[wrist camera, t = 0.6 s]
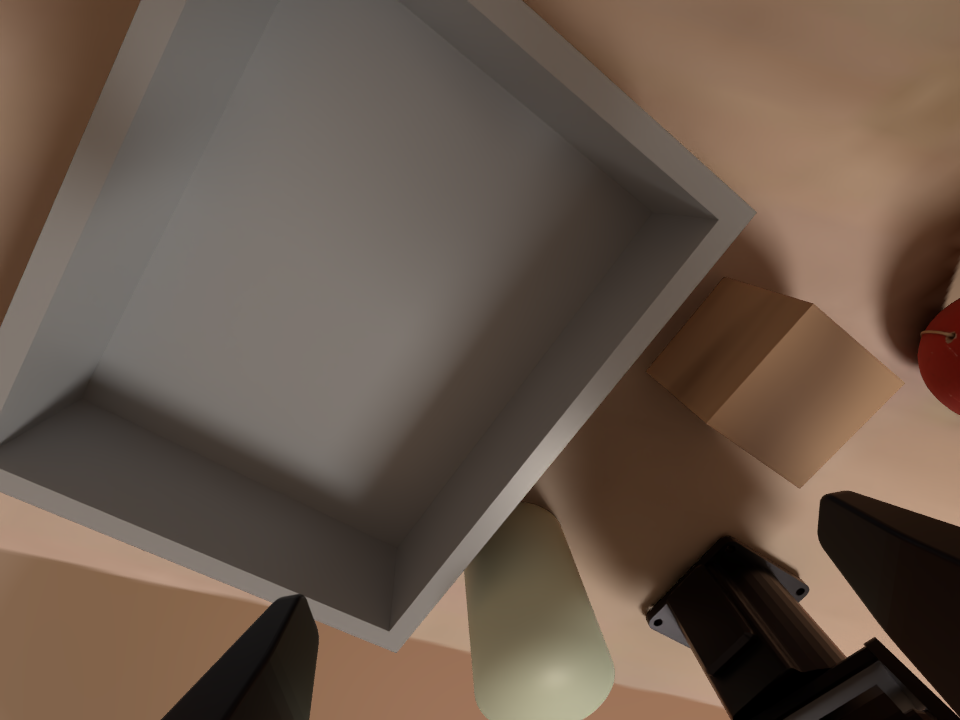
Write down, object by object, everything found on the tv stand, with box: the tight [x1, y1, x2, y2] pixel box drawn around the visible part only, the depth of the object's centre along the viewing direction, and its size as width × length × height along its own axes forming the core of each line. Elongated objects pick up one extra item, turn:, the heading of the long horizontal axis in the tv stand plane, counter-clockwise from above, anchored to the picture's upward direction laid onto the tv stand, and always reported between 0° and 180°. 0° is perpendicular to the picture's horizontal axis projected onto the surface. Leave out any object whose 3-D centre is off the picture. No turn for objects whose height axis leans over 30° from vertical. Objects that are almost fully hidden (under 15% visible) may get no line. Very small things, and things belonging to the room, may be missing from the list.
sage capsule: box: [464, 502, 615, 720], centre depth 20 cm, size 5×5×7 cm
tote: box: [0, 0, 757, 653], centre depth 16 cm, size 16×20×5 cm
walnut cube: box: [646, 277, 905, 489], centre depth 19 cm, size 5×5×5 cm
